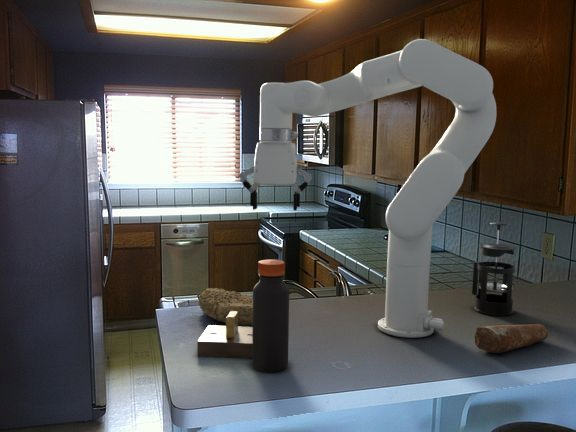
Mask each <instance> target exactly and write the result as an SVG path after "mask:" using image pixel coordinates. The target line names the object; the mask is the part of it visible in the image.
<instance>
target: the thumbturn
mask: <svg viewBox="0 0 576 432" xmlns="http://www.w3.org/2000/svg"><path fill="white" fill-rule="evenodd" d="M225 326H226V338H234V336H235V334H236V333H237V331H238V326H239V325H238V311H230V313H229V315H228V316H227V318H226V323H225Z"/></svg>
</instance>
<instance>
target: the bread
mask: <svg viewBox="0 0 576 432" xmlns="http://www.w3.org/2000/svg"><path fill="white" fill-rule="evenodd" d="M475 331H476V332H475V335H474V343H475V346H476V347H477V348H478V349H480V350H482V351H484V352H487V353H493V354H501V353H506V352H509V351H514V350H517V349H520V348H524V347H528V346H532V345H533V344H536V343H539V342H542V341H544V340H546V339H547V338H548V337H549V331H548V329H547V327H546V326H545V325H543V324H540V323H530V324H503V325H502V324H501V325H487V326H479V327H477V328H476V330H475Z"/></svg>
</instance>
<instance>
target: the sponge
mask: <svg viewBox="0 0 576 432" xmlns="http://www.w3.org/2000/svg"><path fill="white" fill-rule="evenodd" d="M198 306H199V308H200V310H201V311H202V312H203V313H205V315H206V316H207V317H209V318H211V319H213V320H216V321H218V322H221V323H224V324H226V318H227V316H228V315H229V313H230V311H238V326H253V297H252V296H249V295H247V294H245V293H242V292H238V291H234V290H226V289H224V288H222V287H221V288H218V287H210V288H205V290H203V291H202V292H201V293H200V294H199V296H198Z"/></svg>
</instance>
